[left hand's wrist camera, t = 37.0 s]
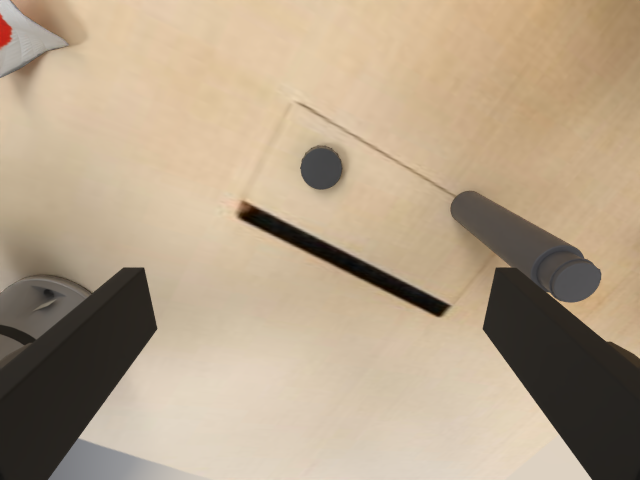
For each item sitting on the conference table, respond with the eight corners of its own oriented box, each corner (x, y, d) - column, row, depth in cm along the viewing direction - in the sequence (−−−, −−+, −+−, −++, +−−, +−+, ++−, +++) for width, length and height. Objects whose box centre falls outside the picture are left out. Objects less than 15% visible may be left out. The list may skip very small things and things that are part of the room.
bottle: (457, 227, 44) (556, 316, 25) (445, 200, 42) (540, 273, 24) (488, 212, 43) (613, 292, 25) (476, 184, 41) (600, 247, 23)
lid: (323, 193, 42) (323, 198, 40) (293, 167, 41) (291, 171, 38) (349, 163, 41) (351, 167, 38) (318, 136, 39) (318, 138, 37)
